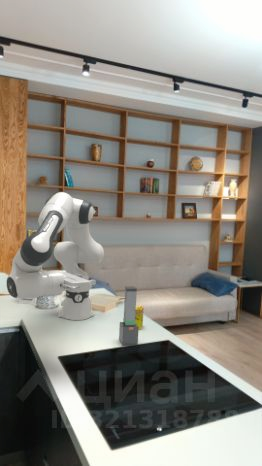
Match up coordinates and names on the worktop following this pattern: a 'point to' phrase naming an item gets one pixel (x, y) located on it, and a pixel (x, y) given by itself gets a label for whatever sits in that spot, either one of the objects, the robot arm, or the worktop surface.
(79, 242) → the robot arm
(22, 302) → the grater
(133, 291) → the jack column
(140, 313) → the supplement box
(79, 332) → the worktop surface
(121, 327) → the base
